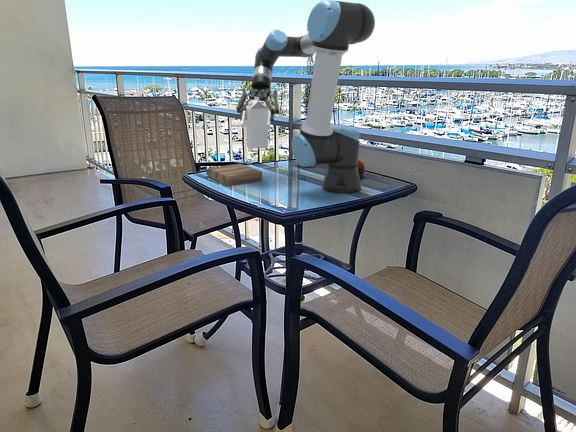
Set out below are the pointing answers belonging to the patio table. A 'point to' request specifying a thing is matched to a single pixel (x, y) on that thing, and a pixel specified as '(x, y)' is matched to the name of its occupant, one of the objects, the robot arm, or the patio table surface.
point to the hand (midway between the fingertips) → (255, 126)
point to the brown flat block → (234, 174)
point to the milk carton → (256, 124)
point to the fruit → (361, 167)
